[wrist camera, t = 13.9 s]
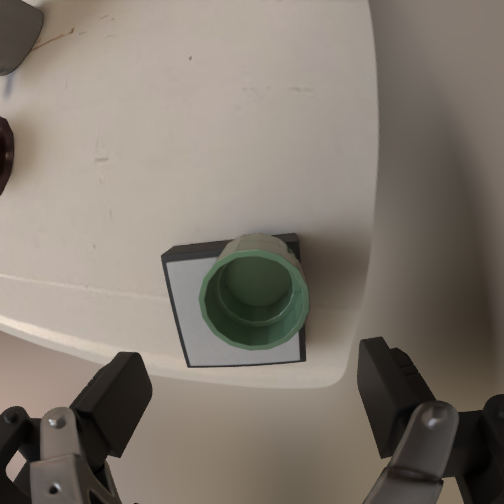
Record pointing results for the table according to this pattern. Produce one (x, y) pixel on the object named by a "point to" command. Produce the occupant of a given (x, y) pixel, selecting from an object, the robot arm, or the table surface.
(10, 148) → the toy spacecraft
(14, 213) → the table surface
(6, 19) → the coffee mug
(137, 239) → the table surface
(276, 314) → the green cup
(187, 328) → the scale
